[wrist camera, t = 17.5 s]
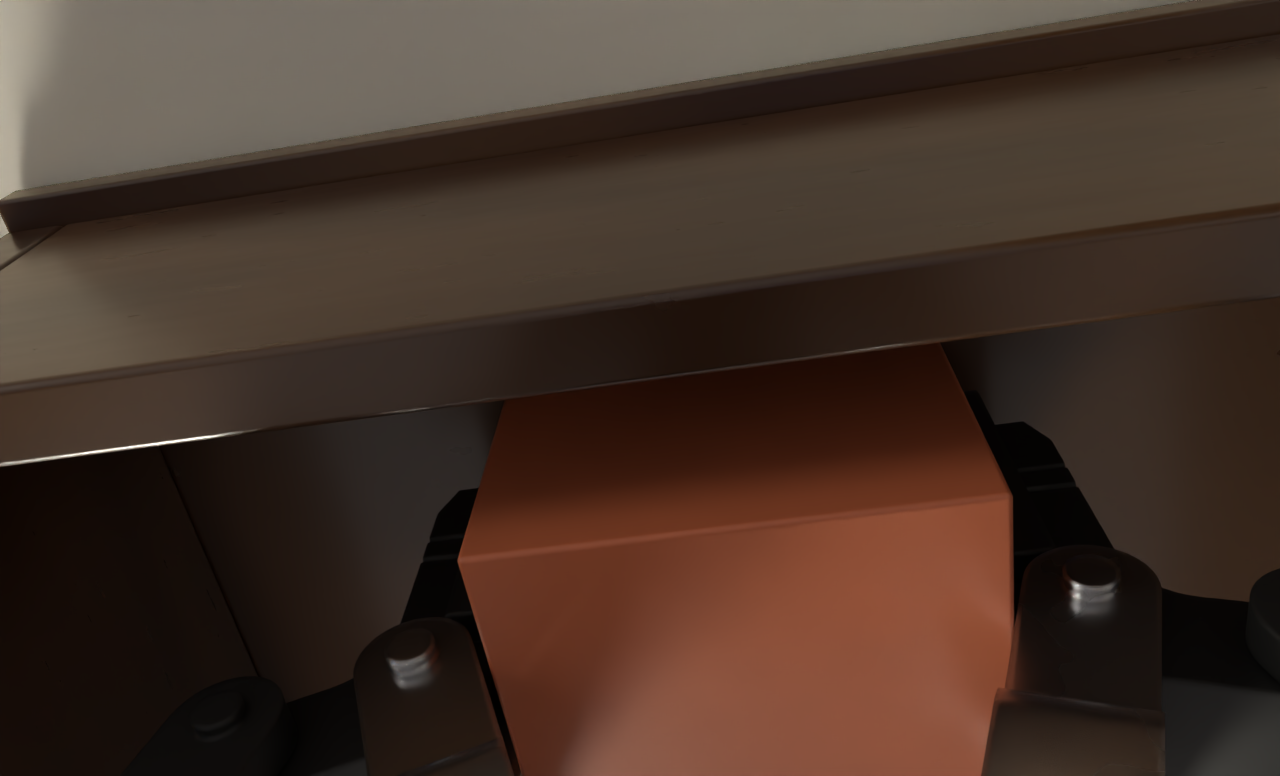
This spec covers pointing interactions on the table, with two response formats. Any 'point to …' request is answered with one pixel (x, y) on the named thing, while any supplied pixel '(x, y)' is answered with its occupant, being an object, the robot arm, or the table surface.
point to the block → (747, 573)
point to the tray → (614, 330)
